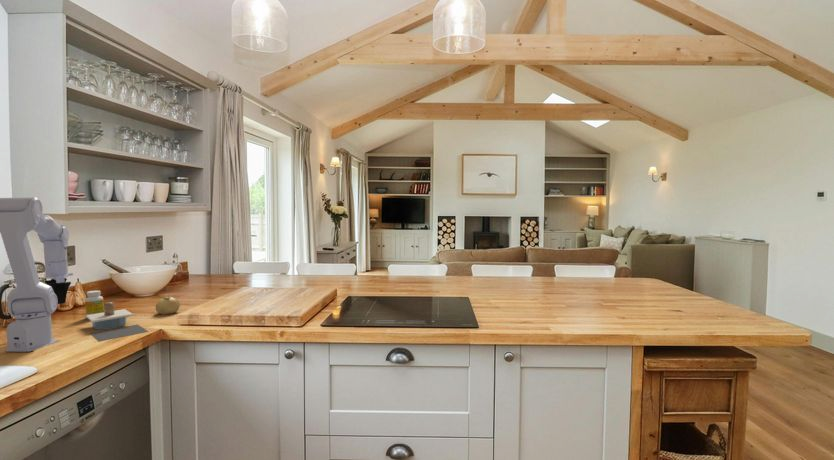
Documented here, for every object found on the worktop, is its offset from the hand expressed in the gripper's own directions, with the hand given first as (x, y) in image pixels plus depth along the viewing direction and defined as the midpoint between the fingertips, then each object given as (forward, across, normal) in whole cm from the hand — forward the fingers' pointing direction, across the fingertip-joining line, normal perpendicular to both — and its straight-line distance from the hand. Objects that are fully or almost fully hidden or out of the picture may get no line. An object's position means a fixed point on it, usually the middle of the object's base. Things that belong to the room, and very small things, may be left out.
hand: (59, 302), depth 140 cm
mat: (+9, -21, -12) cm, 26 cm away
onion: (+10, -5, -31) cm, 33 cm away
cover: (+6, -8, -12) cm, 16 cm away
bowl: (+9, -8, -12) cm, 17 cm away
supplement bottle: (+10, +12, -11) cm, 19 cm away
